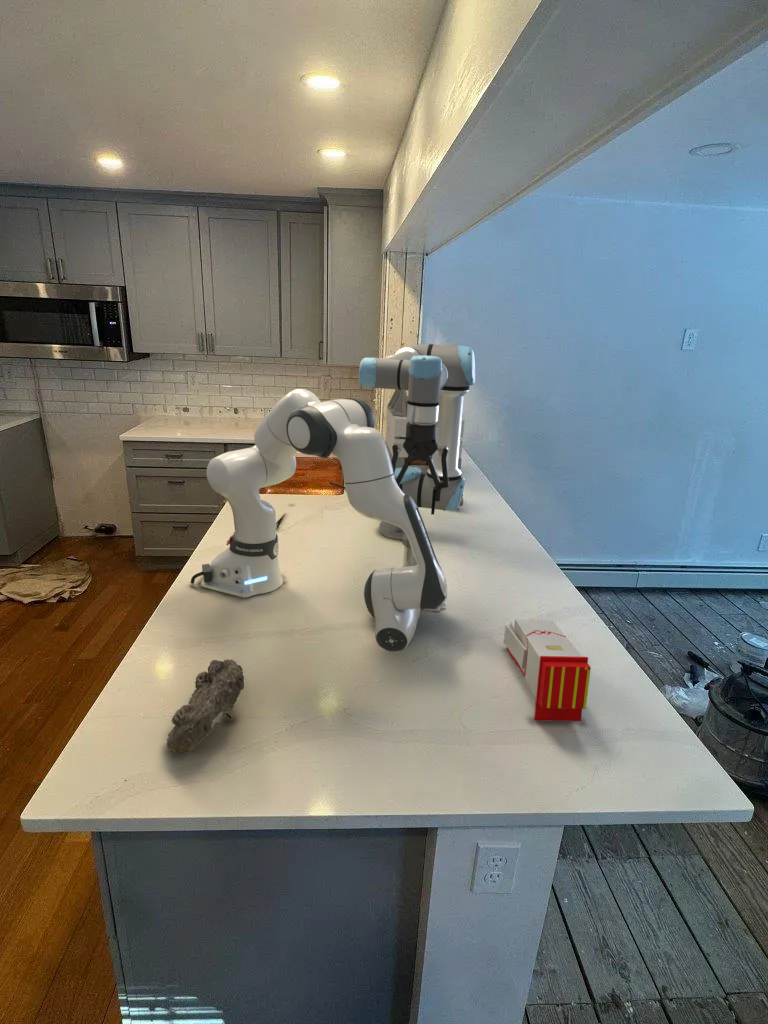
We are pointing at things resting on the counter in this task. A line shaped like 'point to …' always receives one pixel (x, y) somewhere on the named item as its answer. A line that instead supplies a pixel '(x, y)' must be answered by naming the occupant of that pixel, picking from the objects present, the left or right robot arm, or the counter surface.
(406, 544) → the lid
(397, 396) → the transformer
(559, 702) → the toy
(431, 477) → the right robot arm
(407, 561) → the bottle
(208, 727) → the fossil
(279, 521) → the feather
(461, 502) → the figurine character
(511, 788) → the counter surface
